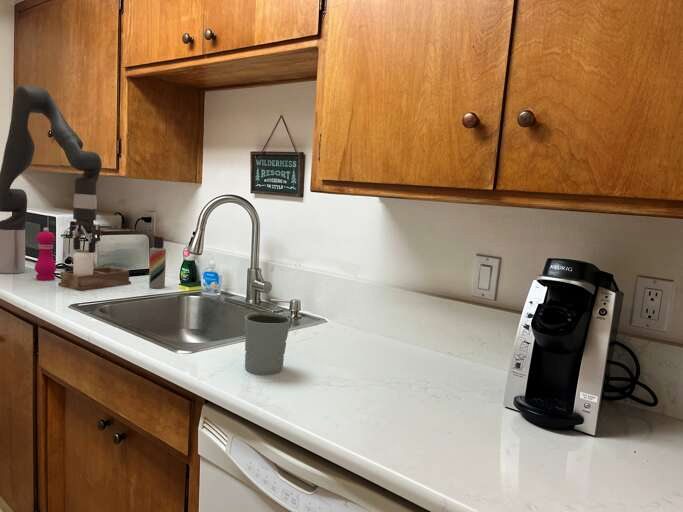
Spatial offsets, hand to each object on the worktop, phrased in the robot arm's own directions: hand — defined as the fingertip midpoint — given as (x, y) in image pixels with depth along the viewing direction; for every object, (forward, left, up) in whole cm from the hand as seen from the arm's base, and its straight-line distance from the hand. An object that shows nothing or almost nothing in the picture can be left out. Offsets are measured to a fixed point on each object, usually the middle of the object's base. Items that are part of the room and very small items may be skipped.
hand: (84, 251), depth 188 cm
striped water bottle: (+17, +19, -13) cm, 29 cm away
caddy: (0, +5, -13) cm, 14 cm away
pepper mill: (-20, -2, -13) cm, 24 cm away
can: (0, 0, -12) cm, 12 cm away
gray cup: (+103, -26, -13) cm, 107 cm away
